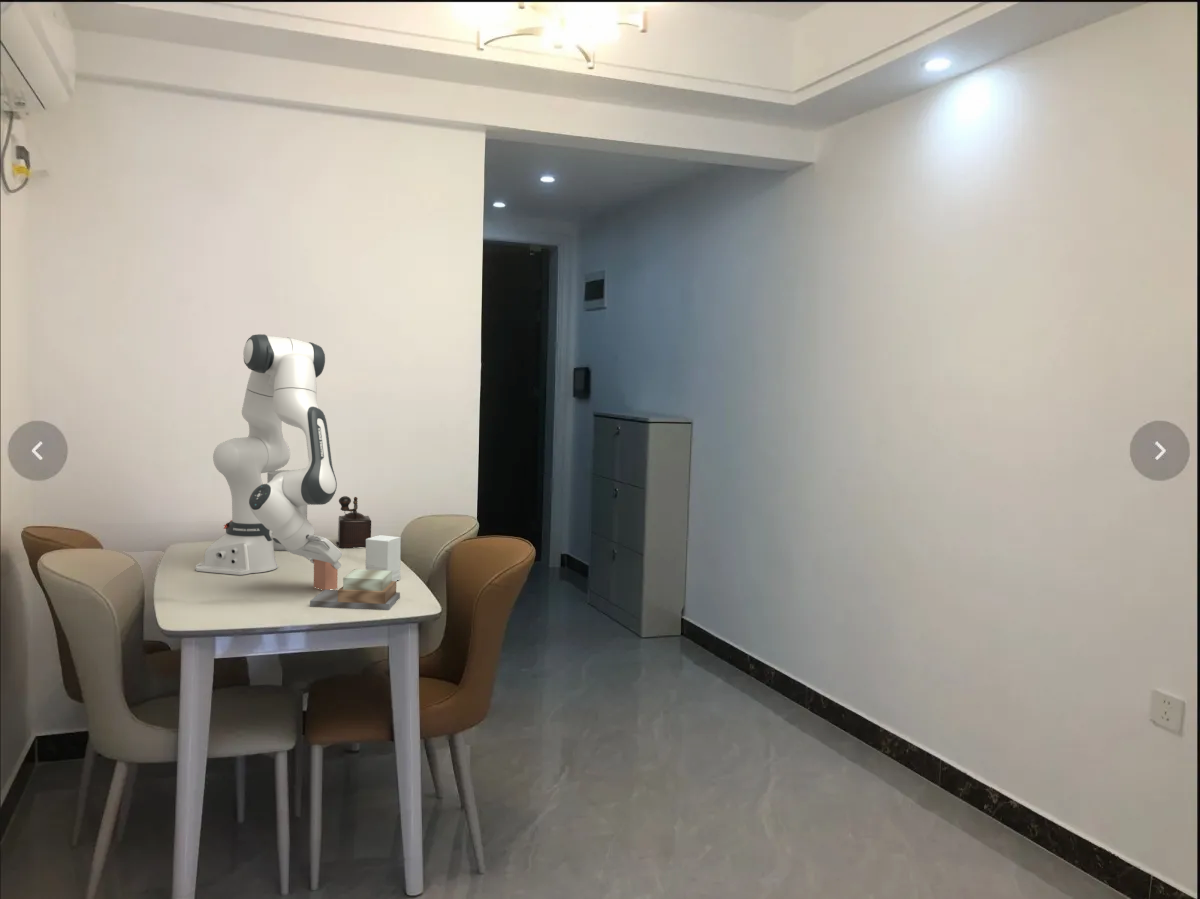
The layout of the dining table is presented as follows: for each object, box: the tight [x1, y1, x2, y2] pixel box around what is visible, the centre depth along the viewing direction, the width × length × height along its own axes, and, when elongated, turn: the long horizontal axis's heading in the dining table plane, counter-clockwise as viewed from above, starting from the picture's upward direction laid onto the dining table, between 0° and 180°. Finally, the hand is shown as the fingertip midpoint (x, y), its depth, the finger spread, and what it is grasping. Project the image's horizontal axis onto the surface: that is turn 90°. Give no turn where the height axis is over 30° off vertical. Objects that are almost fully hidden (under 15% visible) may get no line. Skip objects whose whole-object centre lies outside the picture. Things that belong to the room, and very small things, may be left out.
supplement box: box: [365, 534, 402, 582], centre depth 258 cm, size 7×7×13 cm
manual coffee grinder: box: [336, 495, 372, 549], centre depth 305 cm, size 16×11×18 cm
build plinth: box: [309, 568, 401, 611], centre depth 235 cm, size 20×12×8 cm, turn 89°
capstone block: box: [313, 559, 339, 591], centre depth 248 cm, size 4×5×9 cm
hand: (327, 564), depth 248 cm, fingers open, 8 cm apart
